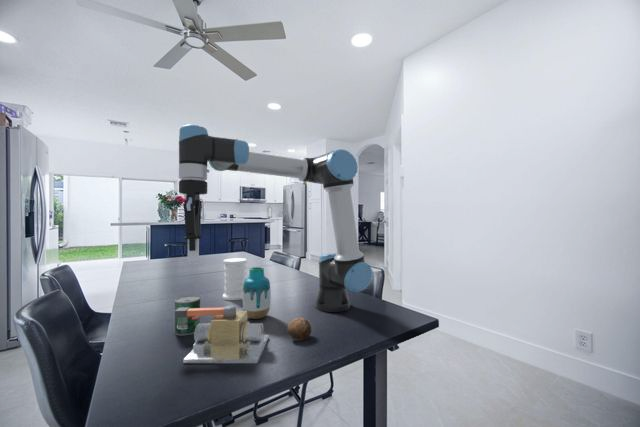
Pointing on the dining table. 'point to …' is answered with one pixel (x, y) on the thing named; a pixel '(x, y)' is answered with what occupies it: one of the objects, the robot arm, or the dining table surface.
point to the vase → (256, 294)
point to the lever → (206, 312)
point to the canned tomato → (190, 322)
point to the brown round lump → (299, 329)
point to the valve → (228, 341)
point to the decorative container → (234, 278)
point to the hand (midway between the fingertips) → (193, 261)
